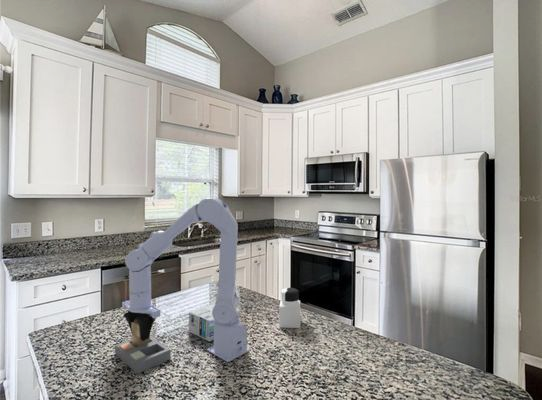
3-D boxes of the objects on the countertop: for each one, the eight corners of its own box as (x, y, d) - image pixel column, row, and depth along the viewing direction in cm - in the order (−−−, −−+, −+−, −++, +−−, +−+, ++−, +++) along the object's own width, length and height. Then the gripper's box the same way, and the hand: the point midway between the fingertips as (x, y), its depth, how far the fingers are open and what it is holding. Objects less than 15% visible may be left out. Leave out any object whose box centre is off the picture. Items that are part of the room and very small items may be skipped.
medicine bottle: (300, 319, 105) (300, 286, 105) (300, 328, 98) (300, 292, 98) (280, 319, 106) (280, 285, 106) (279, 327, 99) (278, 292, 99)
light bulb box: (188, 332, 96) (208, 343, 89) (188, 311, 96) (209, 320, 89) (213, 321, 104) (234, 330, 97) (214, 302, 104) (235, 310, 97)
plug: (149, 342, 85) (149, 317, 85) (139, 347, 82) (139, 322, 82) (142, 339, 87) (141, 315, 87) (131, 344, 84) (131, 319, 84)
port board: (170, 358, 80) (170, 348, 80) (137, 373, 73) (137, 362, 73) (146, 342, 89) (146, 332, 89) (115, 354, 83) (115, 343, 83)
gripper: (169, 290, 84) (169, 337, 84) (136, 283, 91) (137, 326, 92) (147, 297, 78) (148, 348, 78) (115, 289, 85) (115, 335, 86)
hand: (140, 337), depth 85 cm, fingers closed on plug, 3 cm apart
